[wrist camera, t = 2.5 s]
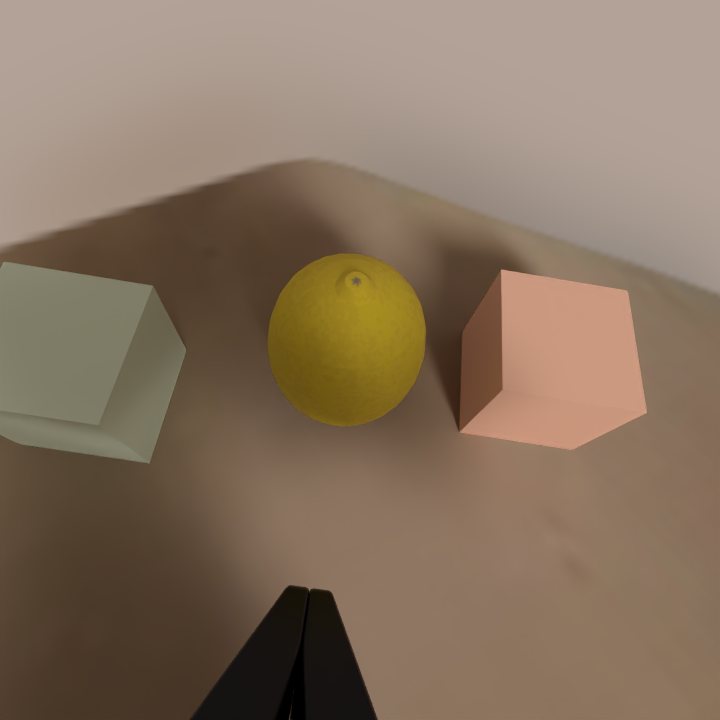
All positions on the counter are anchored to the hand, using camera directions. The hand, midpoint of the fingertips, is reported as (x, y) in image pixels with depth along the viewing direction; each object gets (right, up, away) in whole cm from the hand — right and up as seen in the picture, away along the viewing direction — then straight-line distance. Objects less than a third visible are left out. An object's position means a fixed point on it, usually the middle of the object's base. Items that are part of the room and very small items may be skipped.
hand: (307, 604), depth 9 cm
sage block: (-9, +3, +10) cm, 14 cm away
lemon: (0, +3, +12) cm, 12 cm away
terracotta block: (+8, +3, +12) cm, 15 cm away
